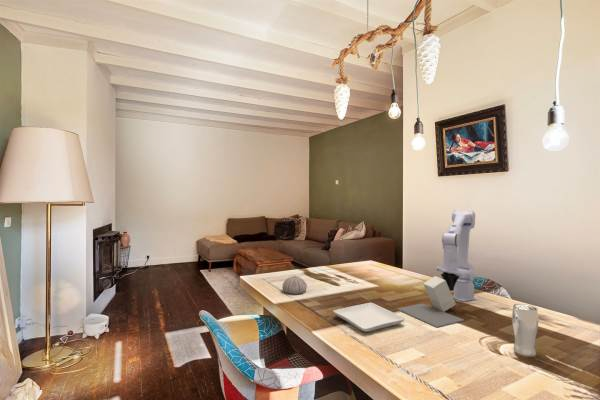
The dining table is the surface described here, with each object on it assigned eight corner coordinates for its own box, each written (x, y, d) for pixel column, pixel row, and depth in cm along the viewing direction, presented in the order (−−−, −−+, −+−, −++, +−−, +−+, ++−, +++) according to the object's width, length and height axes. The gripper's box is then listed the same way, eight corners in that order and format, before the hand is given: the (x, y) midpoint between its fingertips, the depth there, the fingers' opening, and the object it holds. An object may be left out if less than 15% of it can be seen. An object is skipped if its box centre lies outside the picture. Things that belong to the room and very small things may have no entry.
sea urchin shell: (298, 286, 179) (298, 272, 179) (312, 293, 168) (312, 277, 167) (277, 290, 172) (277, 275, 172) (290, 297, 160) (290, 281, 160)
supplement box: (456, 304, 141) (446, 279, 140) (443, 312, 140) (432, 288, 138) (445, 298, 149) (435, 275, 147) (432, 306, 147) (422, 283, 146)
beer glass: (506, 347, 108) (507, 303, 108) (526, 346, 109) (526, 303, 108) (522, 358, 101) (523, 311, 101) (543, 357, 102) (544, 310, 101)
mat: (422, 304, 151) (422, 303, 151) (464, 320, 131) (464, 319, 131) (396, 309, 144) (396, 308, 143) (436, 327, 124) (436, 326, 124)
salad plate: (364, 337, 116) (364, 328, 116) (331, 317, 135) (331, 309, 135) (406, 326, 126) (406, 318, 126) (371, 309, 144) (371, 302, 144)
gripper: (430, 257, 147) (430, 286, 147) (458, 263, 134) (458, 295, 134) (441, 256, 151) (441, 285, 151) (469, 262, 138) (469, 293, 138)
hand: (449, 290), depth 143 cm, fingers closed
